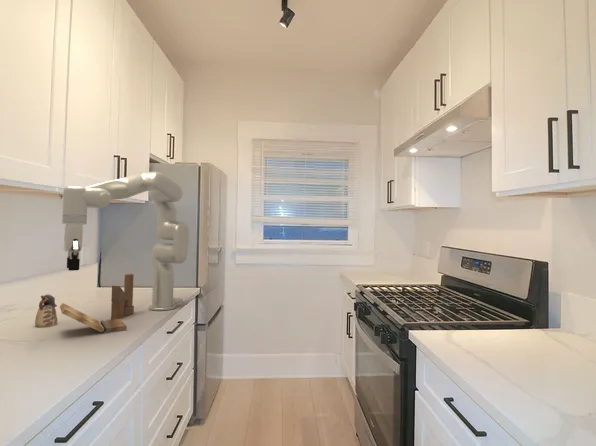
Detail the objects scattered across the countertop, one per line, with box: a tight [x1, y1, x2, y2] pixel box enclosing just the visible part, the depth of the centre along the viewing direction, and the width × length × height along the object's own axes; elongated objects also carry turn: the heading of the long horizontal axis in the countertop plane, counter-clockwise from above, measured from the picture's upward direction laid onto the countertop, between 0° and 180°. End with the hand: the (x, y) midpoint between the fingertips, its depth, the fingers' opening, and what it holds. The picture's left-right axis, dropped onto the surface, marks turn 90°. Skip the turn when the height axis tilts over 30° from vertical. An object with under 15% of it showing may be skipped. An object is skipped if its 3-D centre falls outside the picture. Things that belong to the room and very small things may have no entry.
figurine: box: [34, 293, 58, 328], centre depth 136 cm, size 7×7×12 cm
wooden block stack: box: [110, 273, 135, 320], centre depth 152 cm, size 4×11×18 cm, turn 172°
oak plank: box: [59, 302, 104, 333], centre depth 129 cm, size 15×12×2 cm
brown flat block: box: [99, 318, 127, 334], centre depth 135 cm, size 7×12×2 cm, turn 38°
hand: (72, 268), depth 127 cm, fingers open, 6 cm apart
